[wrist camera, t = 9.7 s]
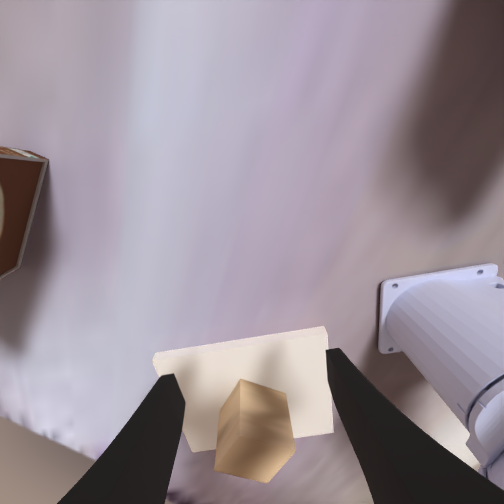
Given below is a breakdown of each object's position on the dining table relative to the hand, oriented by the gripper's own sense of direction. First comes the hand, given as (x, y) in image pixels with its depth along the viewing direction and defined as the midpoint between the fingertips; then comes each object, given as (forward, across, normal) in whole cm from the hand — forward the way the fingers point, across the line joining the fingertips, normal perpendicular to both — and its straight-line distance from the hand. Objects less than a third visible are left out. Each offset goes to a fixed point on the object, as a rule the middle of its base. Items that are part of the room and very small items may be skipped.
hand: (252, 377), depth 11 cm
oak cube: (+8, +2, +13) cm, 16 cm away
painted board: (+9, +2, +13) cm, 16 cm away
